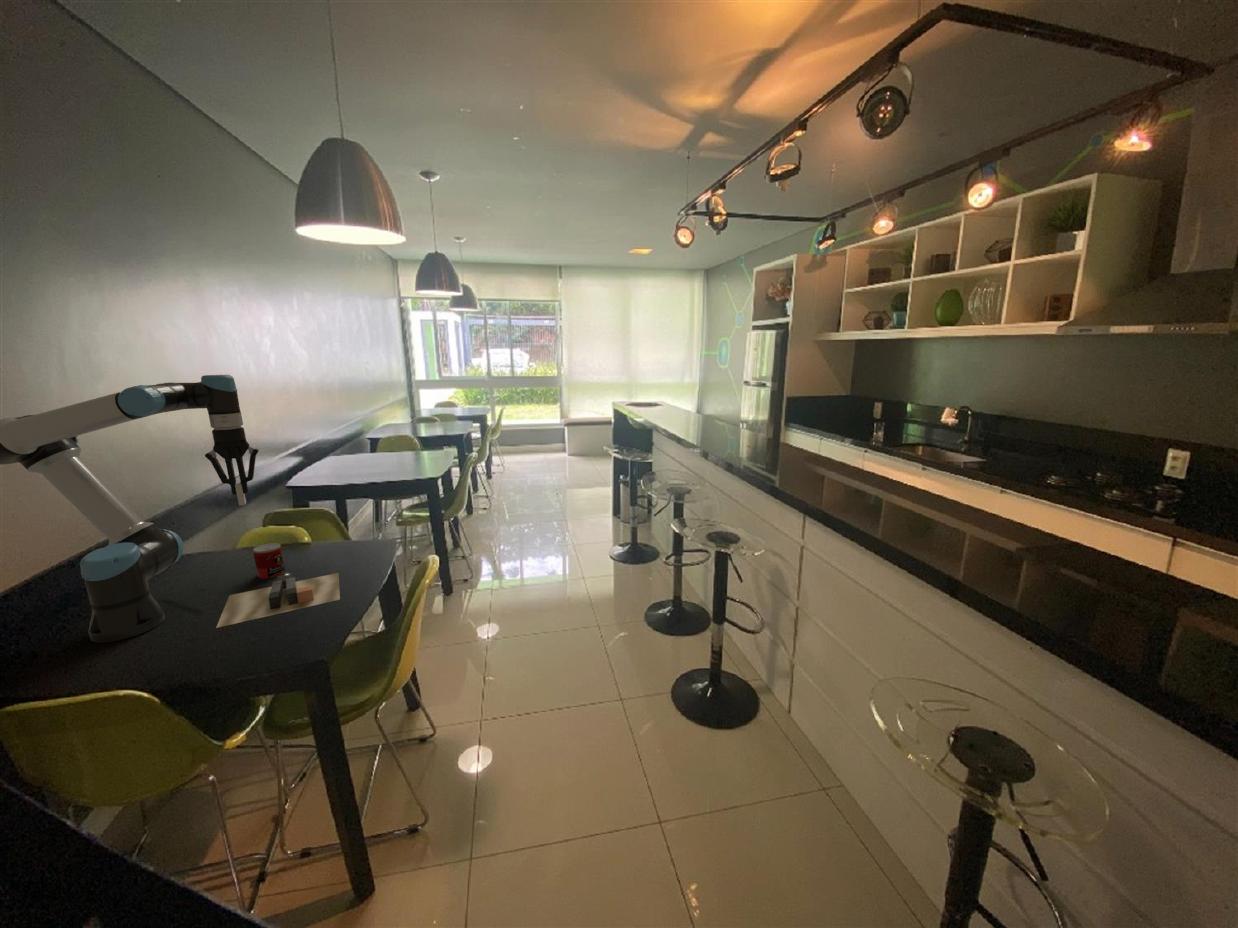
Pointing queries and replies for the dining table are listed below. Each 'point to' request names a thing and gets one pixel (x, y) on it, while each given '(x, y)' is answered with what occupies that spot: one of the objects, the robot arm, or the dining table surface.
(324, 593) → the board
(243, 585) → the dining table surface
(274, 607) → the tongs fixed
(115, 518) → the robot arm
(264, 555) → the canned food
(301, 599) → the orange block
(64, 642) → the dining table surface
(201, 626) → the dining table surface
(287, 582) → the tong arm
